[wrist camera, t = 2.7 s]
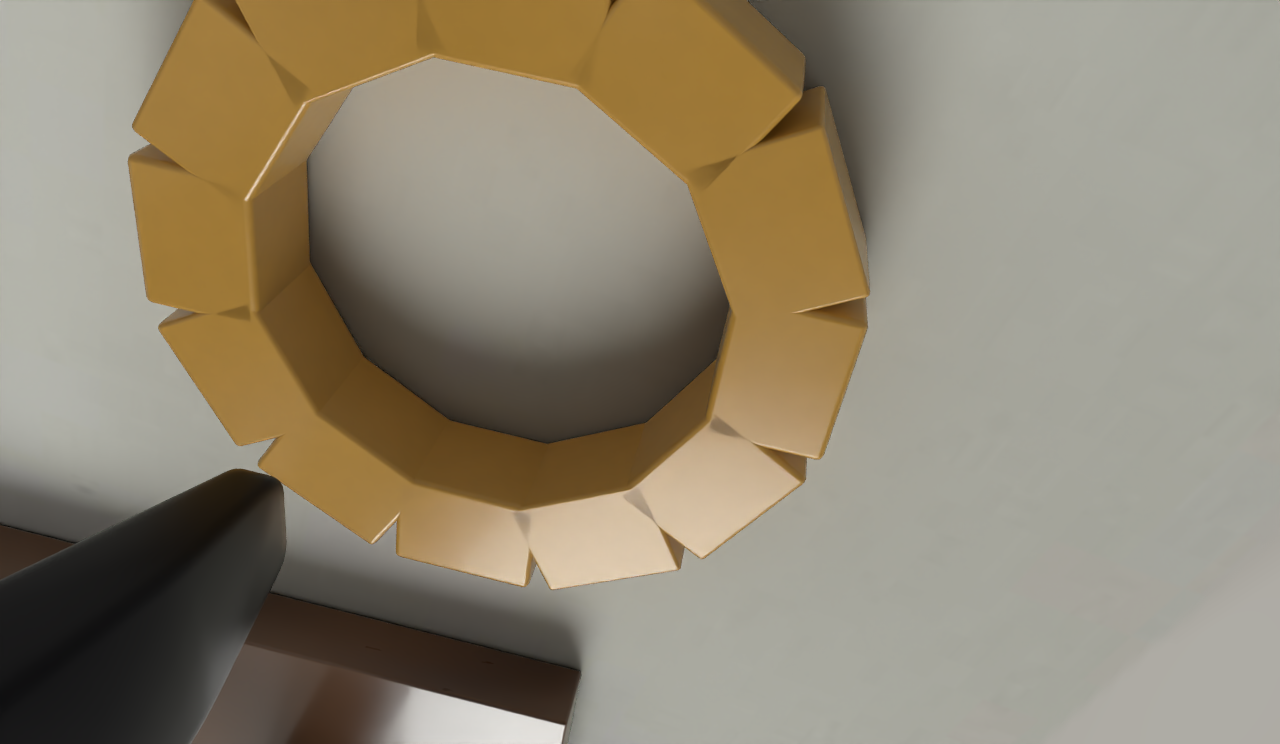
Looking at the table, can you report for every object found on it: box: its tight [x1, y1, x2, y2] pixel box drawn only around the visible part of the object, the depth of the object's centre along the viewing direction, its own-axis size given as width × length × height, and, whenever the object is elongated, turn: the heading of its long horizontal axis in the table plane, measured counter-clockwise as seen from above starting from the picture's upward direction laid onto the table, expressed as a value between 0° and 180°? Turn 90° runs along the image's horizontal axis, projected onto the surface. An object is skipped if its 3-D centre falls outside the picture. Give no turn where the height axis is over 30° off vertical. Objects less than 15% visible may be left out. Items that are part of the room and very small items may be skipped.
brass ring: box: [128, 0, 870, 590], centre depth 13 cm, size 9×9×2 cm
